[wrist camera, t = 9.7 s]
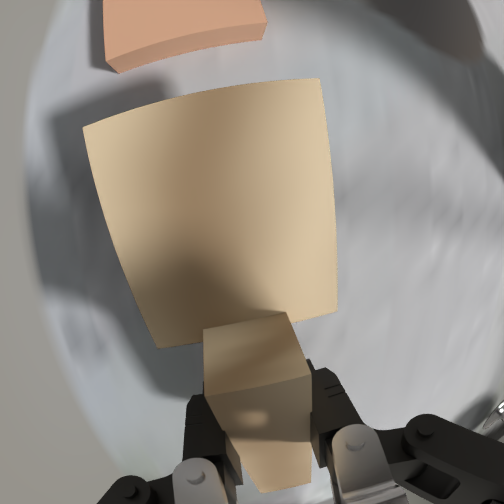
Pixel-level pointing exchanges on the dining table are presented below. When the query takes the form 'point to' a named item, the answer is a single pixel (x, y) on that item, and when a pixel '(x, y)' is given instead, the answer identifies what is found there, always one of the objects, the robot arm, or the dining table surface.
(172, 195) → the turner
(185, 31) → the tile
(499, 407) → the wine glass
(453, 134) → the dining table surface
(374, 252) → the dining table surface
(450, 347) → the dining table surface
